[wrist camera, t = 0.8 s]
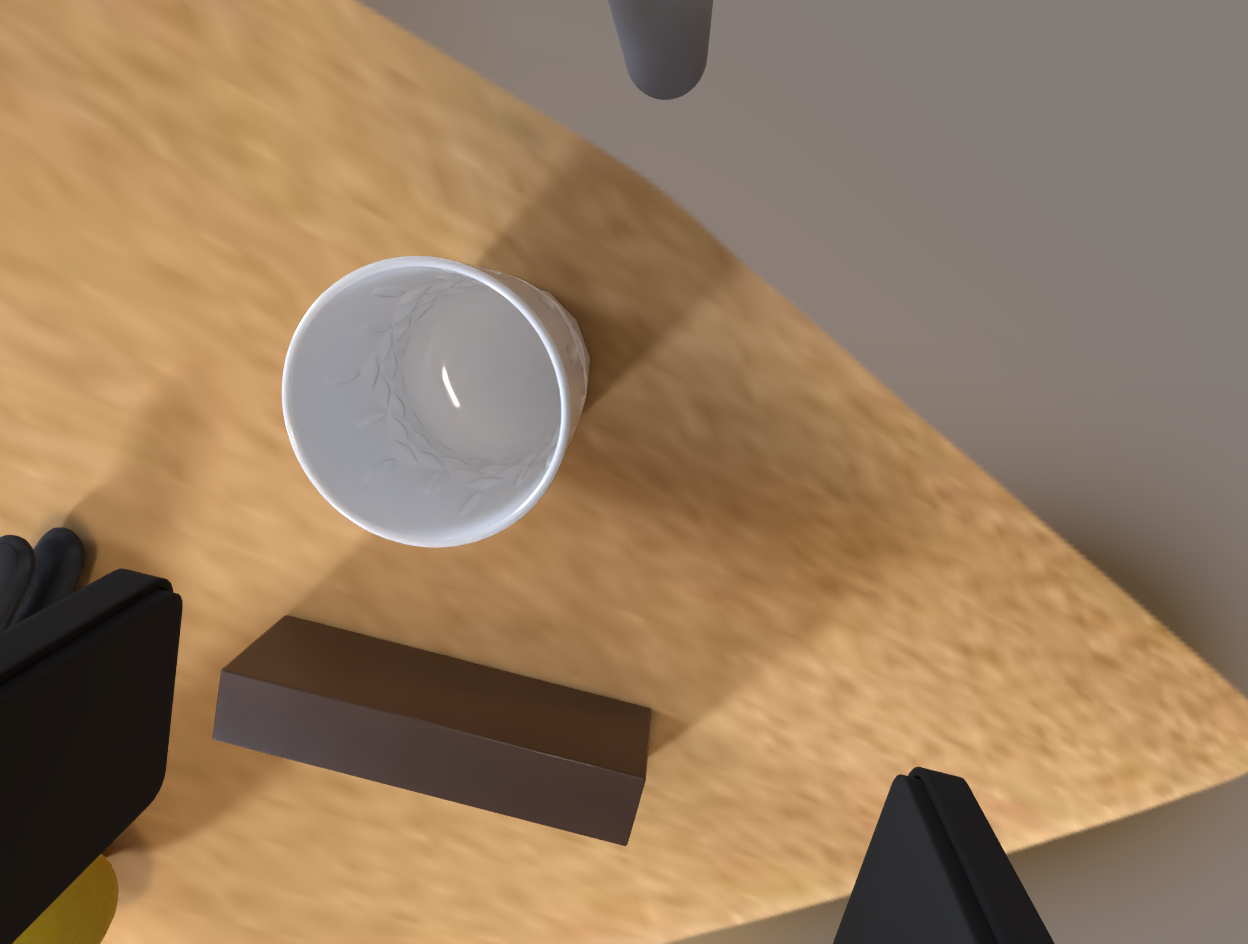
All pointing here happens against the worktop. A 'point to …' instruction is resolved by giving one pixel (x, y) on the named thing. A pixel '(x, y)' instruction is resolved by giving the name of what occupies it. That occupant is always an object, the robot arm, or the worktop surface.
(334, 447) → the white cup
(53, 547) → the can opener
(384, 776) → the walnut rail
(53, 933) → the lemon
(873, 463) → the worktop surface
